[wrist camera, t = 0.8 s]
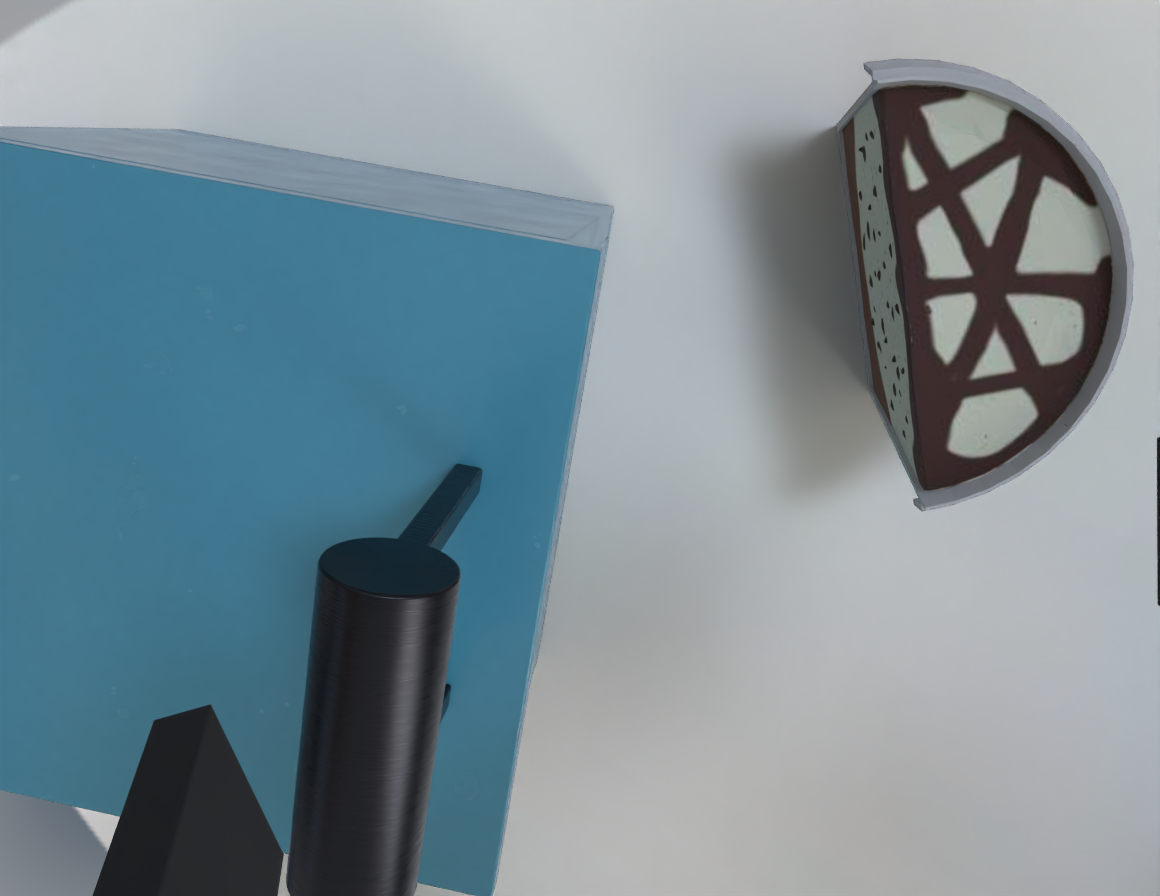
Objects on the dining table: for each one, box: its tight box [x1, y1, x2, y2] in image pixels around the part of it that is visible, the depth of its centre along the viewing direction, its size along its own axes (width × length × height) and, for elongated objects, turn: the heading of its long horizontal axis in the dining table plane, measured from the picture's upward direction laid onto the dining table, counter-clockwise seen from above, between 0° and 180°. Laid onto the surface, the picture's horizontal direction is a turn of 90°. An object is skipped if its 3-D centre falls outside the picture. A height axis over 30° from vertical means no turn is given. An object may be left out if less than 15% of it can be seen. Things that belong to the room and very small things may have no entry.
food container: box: [837, 59, 1134, 511], centre depth 32 cm, size 12×6×10 cm, turn 11°
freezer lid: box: [0, 139, 604, 896], centre depth 24 cm, size 17×18×9 cm
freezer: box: [0, 127, 614, 678], centre depth 35 cm, size 16×18×13 cm
